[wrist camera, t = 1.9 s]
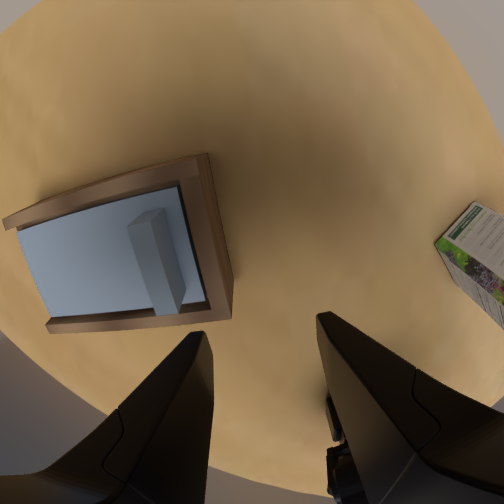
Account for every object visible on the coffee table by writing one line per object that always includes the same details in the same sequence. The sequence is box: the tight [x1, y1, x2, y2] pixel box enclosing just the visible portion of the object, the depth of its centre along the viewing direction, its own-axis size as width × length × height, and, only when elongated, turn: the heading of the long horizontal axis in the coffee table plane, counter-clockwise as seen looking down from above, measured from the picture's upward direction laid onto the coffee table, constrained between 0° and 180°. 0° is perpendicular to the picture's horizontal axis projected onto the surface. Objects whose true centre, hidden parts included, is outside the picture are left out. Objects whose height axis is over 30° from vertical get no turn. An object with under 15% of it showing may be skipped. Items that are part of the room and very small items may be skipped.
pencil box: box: [2, 153, 234, 334], centre depth 17 cm, size 14×9×5 cm, turn 99°
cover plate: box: [16, 184, 207, 317], centre depth 15 cm, size 12×7×3 cm, turn 99°
